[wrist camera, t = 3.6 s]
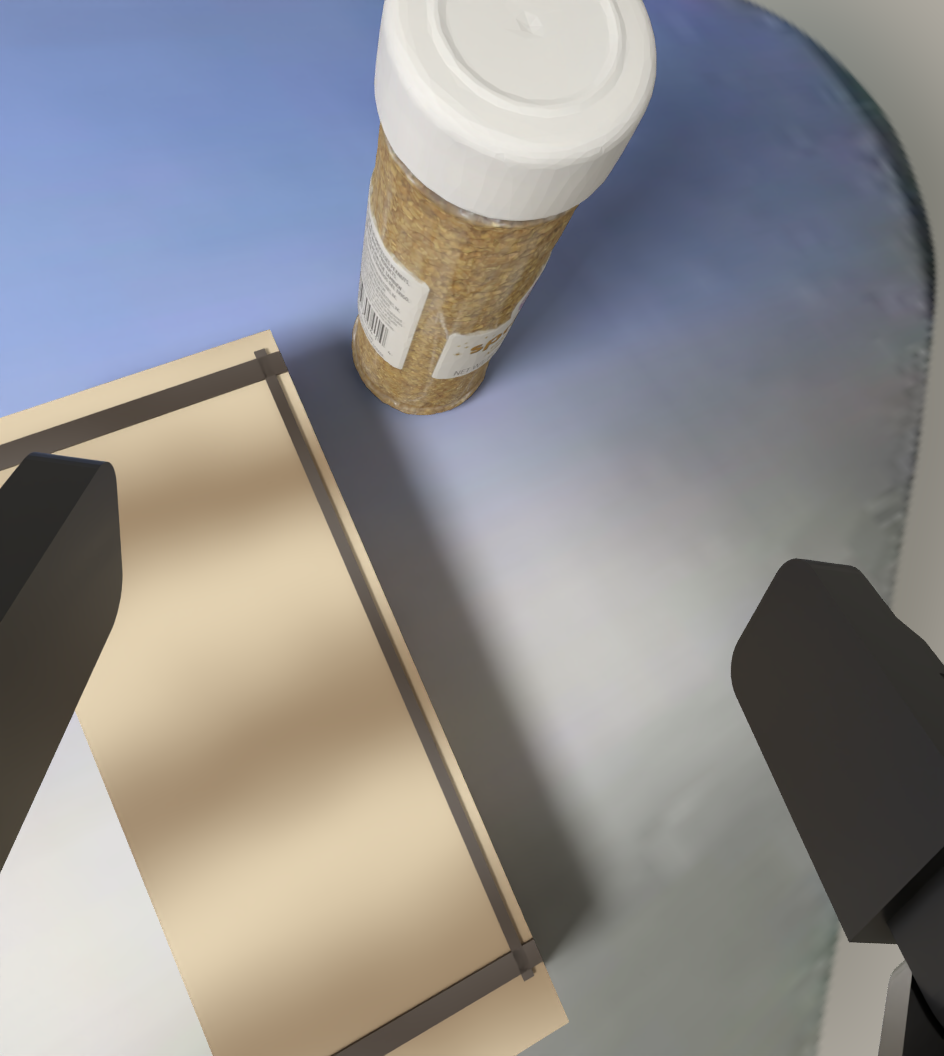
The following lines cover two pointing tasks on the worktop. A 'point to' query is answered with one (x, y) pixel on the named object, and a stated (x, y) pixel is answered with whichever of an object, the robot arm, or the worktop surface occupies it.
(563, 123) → the sprinkles bottle
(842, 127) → the worktop surface
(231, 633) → the maple plank
